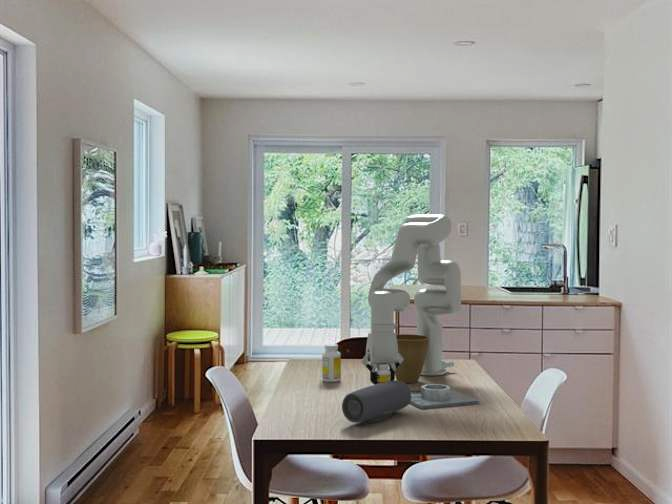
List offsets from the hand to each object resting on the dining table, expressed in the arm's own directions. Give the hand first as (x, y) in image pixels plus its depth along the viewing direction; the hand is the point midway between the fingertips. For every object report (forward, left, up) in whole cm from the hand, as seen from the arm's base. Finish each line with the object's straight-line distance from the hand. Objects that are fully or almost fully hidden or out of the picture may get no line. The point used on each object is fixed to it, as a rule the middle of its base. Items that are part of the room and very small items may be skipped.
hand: (382, 382), depth 260 cm
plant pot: (-16, -14, -4) cm, 22 cm away
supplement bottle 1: (+9, -25, -4) cm, 27 cm away
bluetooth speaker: (+15, +31, -4) cm, 35 cm away
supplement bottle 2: (0, 0, -4) cm, 4 cm away
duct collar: (-12, +15, -3) cm, 20 cm away
